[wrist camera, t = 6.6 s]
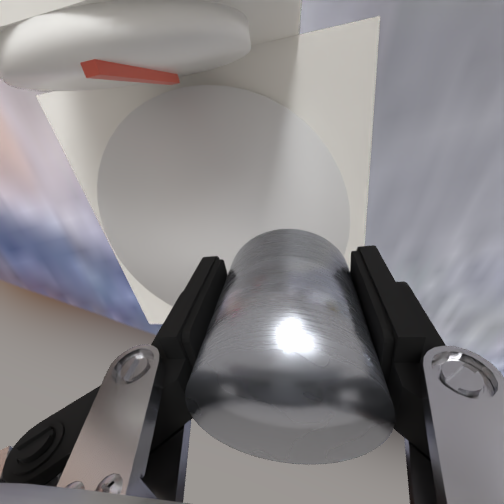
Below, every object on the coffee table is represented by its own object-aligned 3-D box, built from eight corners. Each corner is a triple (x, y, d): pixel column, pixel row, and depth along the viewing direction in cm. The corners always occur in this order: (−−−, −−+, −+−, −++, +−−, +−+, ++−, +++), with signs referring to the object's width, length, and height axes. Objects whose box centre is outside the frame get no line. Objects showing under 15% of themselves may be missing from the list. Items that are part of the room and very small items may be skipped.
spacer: (218, 234, 9) (157, 347, 5) (351, 223, 8) (411, 349, 4) (241, 324, 12) (211, 455, 7) (348, 323, 11) (384, 472, 6)
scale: (48, 43, 14) (-349, -41, 5) (368, -46, 10) (677, -630, 2) (162, 303, 23) (84, 426, 14) (352, 298, 20) (396, 452, 11)
